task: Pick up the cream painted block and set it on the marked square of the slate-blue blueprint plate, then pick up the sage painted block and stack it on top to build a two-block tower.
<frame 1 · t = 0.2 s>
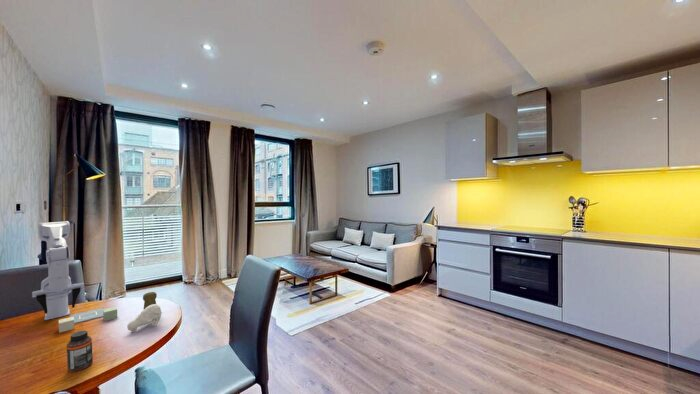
hand: (60, 309, 114), 10 cm above the table, tool pointing down, fingers open, 7 cm apart
cream block: (66, 329, 118), on the table
sage block: (110, 318, 128), on the table
blueprint plate: (88, 316, 130), on the table
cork: (150, 316, 128), on the table
white lumpy piece: (144, 328, 118), on the table
supplement bottle: (80, 367, 92), on the table
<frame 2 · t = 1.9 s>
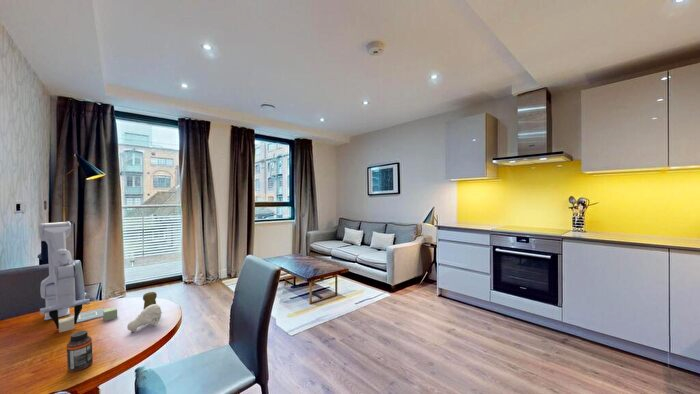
hand: (66, 325, 117), 1 cm above the table, tool pointing down, fingers closed on cream block, 4 cm apart
cream block: (66, 328, 118), on the table, touching gripper
everything else where it was.
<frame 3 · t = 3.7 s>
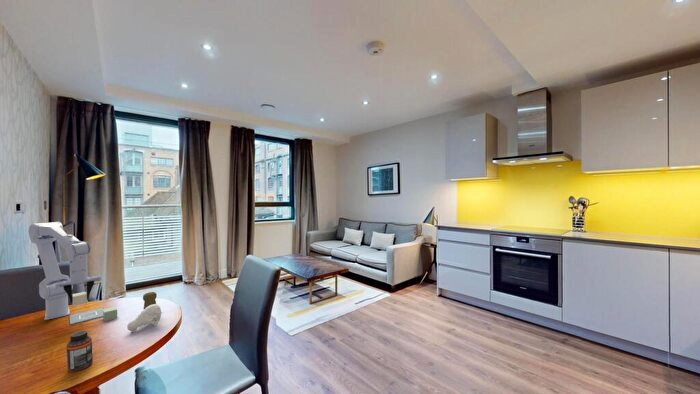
hand: (79, 299, 125), 9 cm above the table, tool pointing down, fingers closed on cream block, 4 cm apart
cream block: (79, 303, 125), point 8 cm above the table, touching gripper
everything else where it was.
when the fingers open (3 cm above the table, at t = 5.7 s): cream block drops 1 cm, resting on blueprint plate.
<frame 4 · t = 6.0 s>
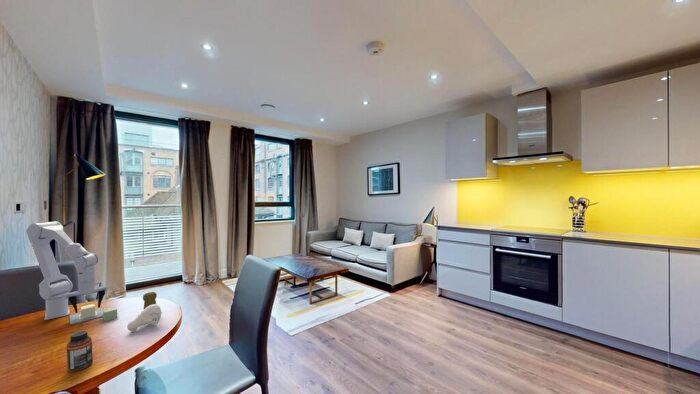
hand: (87, 309, 129), 3 cm above the table, tool pointing down, fingers open, 7 cm apart
cream block: (88, 315, 130), resting on blueprint plate
everything else where it was.
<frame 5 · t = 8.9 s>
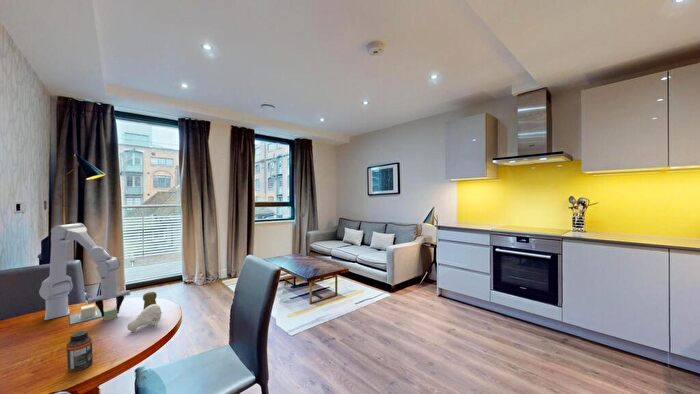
hand: (110, 314, 128), 1 cm above the table, tool pointing down, fingers closed on sage block, 4 cm apart
sage block: (110, 317, 128), on the table, touching gripper
everything else where it was.
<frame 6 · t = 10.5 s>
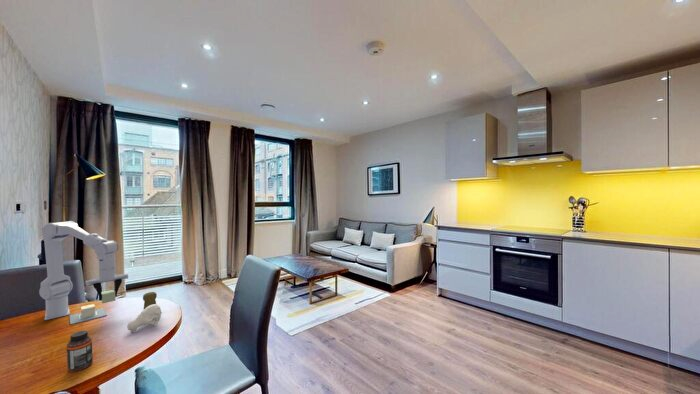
hand: (108, 297, 127), 9 cm above the table, tool pointing down, fingers closed on sage block, 4 cm apart
sage block: (108, 300, 127), point 8 cm above the table, touching gripper
everything else where it was.
when the fingers open (7 cm above the table, at t = 12.0 s): sage block drops 1 cm, resting on cream block.
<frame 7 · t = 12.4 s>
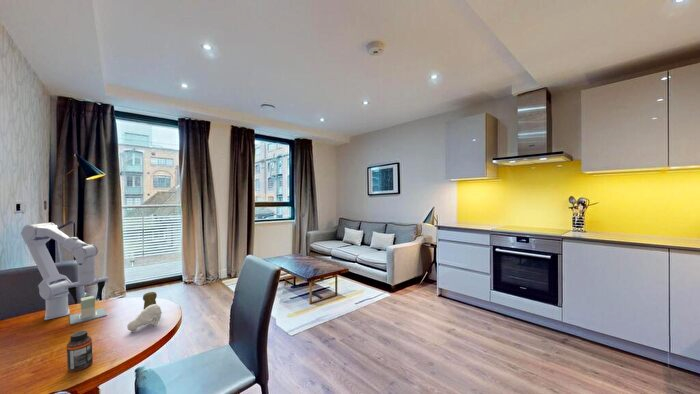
hand: (87, 300, 129), 7 cm above the table, tool pointing down, fingers open, 7 cm apart
cream block: (88, 315, 130), resting on blueprint plate, touching sage block
sage block: (87, 306, 129), point 4 cm above the table, touching cream block
everything else where it was.
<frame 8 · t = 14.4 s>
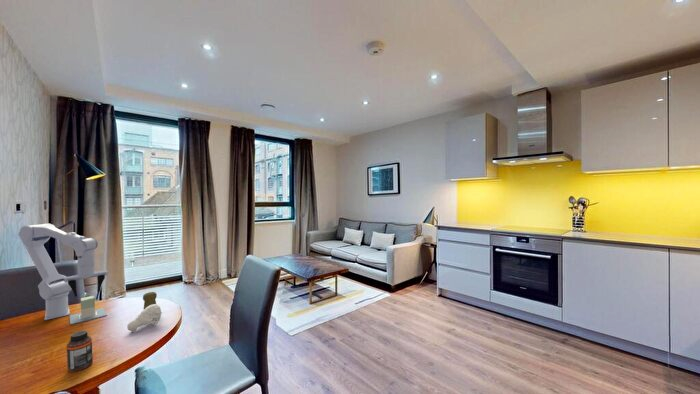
hand: (87, 293, 129), 10 cm above the table, tool pointing down, fingers open, 7 cm apart
nothing on the table moved.
at the end: cream block 0.0 cm off-centre on the blueprint plate, point 0.4 cm above the blueprint plate's base; sage block 0.0 cm off-centre on the cream block, point 4.0 cm above the cream block's base; sage block tilted 0° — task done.
